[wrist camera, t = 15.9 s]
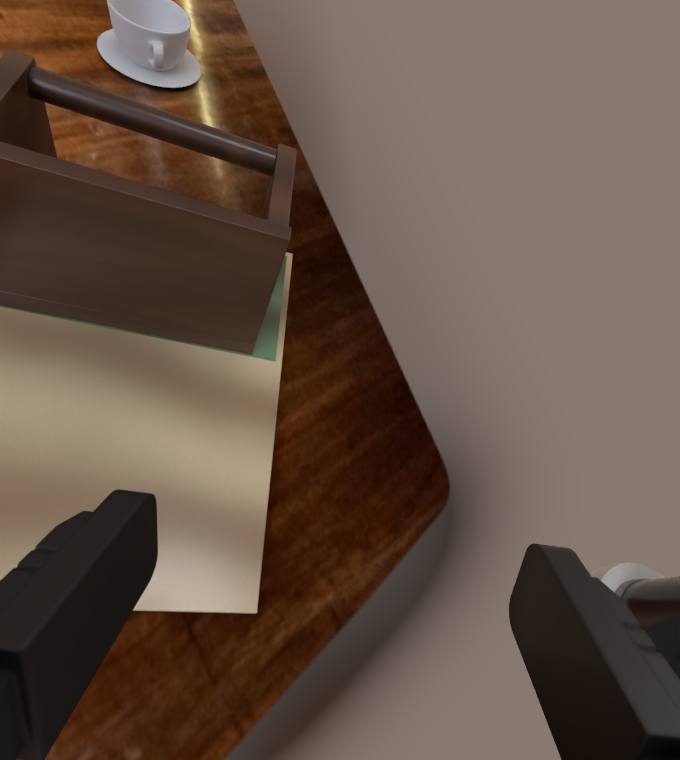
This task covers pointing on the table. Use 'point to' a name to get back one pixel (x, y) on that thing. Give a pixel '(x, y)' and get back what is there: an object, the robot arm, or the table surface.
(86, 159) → the table surface
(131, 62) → the teacup
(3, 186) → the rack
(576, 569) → the robot arm
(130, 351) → the board
